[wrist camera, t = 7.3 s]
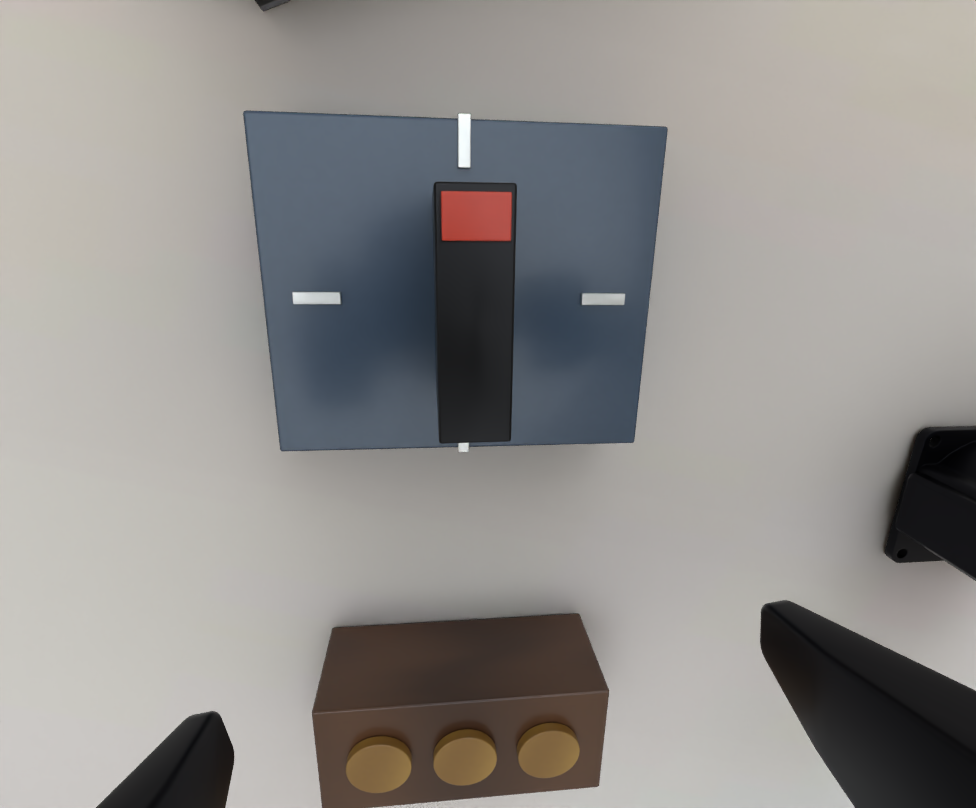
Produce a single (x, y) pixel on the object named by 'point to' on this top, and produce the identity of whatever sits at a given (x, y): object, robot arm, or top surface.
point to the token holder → (458, 711)
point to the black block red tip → (474, 309)
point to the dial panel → (410, 271)
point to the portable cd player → (269, 3)
